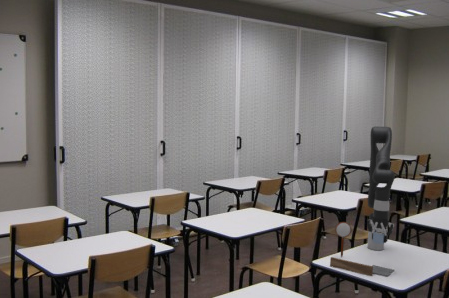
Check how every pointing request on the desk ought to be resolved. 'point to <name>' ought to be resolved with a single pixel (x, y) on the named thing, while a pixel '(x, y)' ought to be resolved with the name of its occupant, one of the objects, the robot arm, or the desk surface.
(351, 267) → the bar
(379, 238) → the letter cube
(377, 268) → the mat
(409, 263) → the desk surface
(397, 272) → the desk surface
